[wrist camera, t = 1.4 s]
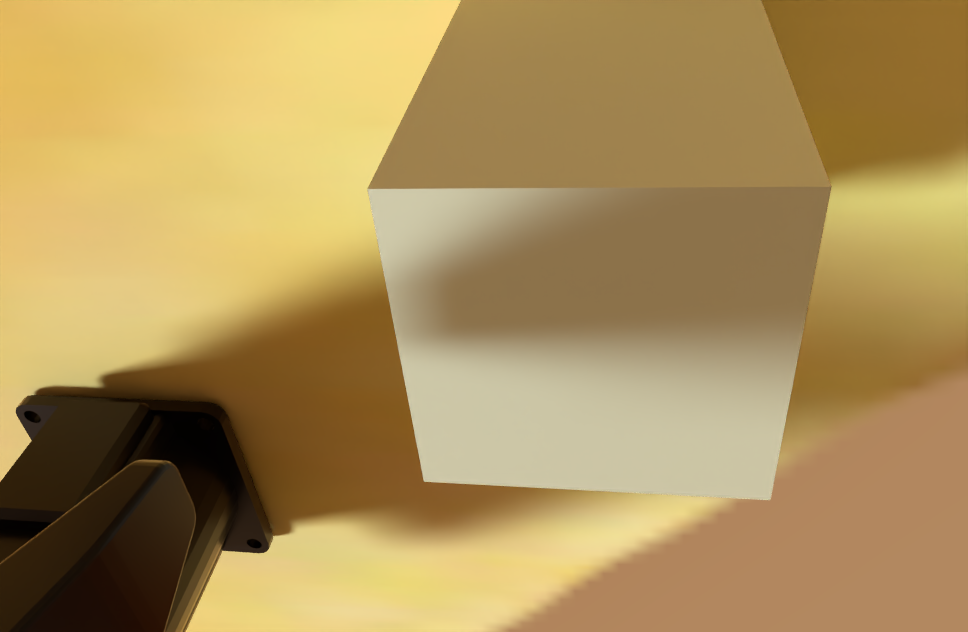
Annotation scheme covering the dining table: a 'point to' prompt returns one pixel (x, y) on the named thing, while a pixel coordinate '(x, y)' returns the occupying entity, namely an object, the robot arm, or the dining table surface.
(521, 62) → the cabinet block
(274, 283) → the dining table surface
